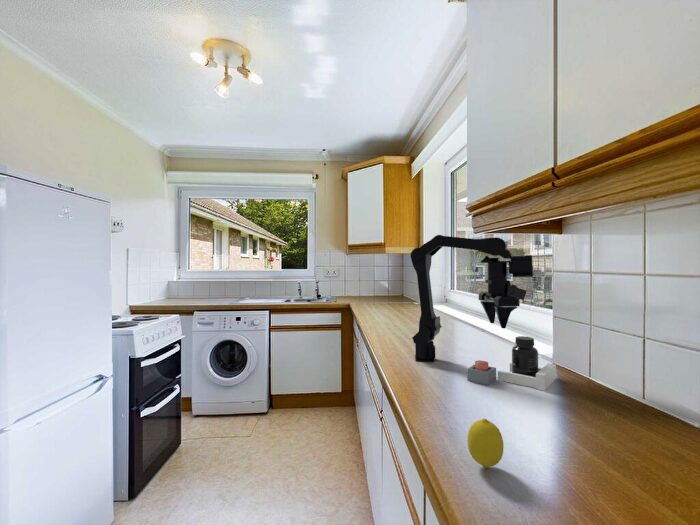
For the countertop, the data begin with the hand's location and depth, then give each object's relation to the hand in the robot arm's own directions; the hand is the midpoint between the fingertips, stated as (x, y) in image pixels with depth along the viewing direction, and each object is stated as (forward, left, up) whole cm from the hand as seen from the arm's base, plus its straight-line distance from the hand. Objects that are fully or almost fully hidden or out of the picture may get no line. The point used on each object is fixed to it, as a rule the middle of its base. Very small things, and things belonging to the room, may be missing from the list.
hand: (497, 325), depth 109 cm
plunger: (-8, -12, -12) cm, 19 cm away
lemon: (-17, -56, -14) cm, 60 cm away
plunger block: (-8, -12, -14) cm, 20 cm away
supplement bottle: (+5, -10, -14) cm, 18 cm away
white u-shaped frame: (+5, -10, -14) cm, 18 cm away
